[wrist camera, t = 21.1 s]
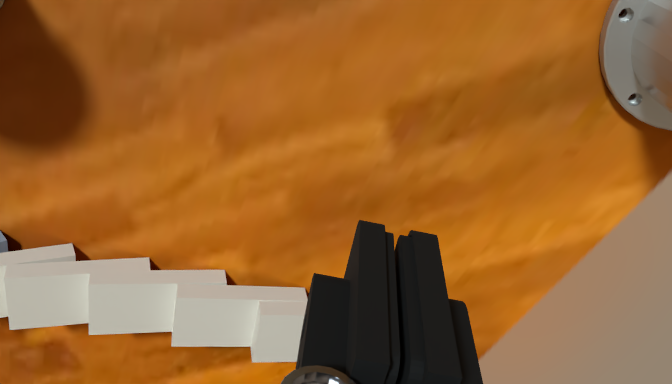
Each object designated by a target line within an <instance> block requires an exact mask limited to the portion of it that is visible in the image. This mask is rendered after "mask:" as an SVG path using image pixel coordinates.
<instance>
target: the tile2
mask: <svg viewBox="0 0 672 384" xmlns="http://www.w3.org/2000/svg"><path fill="white" fill-rule="evenodd" d="M259 301H308V299H307V295H306V291H305V288H298V287H267V286H237V285H206V284H177V292H176V301H175V310H174V319H173V328H172V346H220V347H251V342H252V337H253V331H254V326H255V320H256V315H257V309H258V304H259Z"/></svg>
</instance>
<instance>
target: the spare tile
mask: <svg viewBox="0 0 672 384" xmlns="http://www.w3.org/2000/svg"><path fill="white" fill-rule="evenodd" d="M3 252H8V244H7V239H6V238H5V237H4V235H3V234H2V233H1V231H0V253H3Z"/></svg>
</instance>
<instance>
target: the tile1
mask: <svg viewBox="0 0 672 384" xmlns="http://www.w3.org/2000/svg"><path fill="white" fill-rule="evenodd" d="M306 306H307V301H259V304H258V309H257V315H256V320H255V326H254V331H253V337H252V342H251V356H252V362H297V357H298V351H299V344H300V338H301V332H302V326H303V321H304V316H305V310H306Z"/></svg>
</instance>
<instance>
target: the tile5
mask: <svg viewBox="0 0 672 384" xmlns="http://www.w3.org/2000/svg"><path fill="white" fill-rule="evenodd" d="M68 261H76V255H75V252H74V248H73V244H72V243H71V244H63V245H56V246H48V247H41V248H33V249H25V250H18V251H10V252H3V253H0V318H3V317H8V309H7V300H6V292H5V283H4V276H5V271H6V265H9V264H29V263H49V262H68Z"/></svg>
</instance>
